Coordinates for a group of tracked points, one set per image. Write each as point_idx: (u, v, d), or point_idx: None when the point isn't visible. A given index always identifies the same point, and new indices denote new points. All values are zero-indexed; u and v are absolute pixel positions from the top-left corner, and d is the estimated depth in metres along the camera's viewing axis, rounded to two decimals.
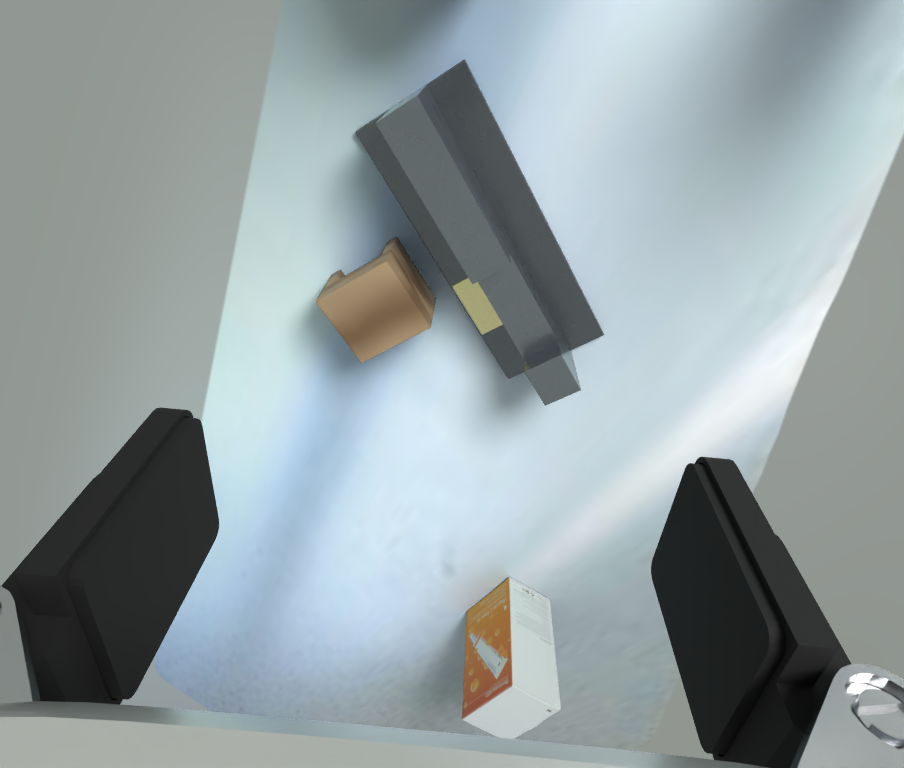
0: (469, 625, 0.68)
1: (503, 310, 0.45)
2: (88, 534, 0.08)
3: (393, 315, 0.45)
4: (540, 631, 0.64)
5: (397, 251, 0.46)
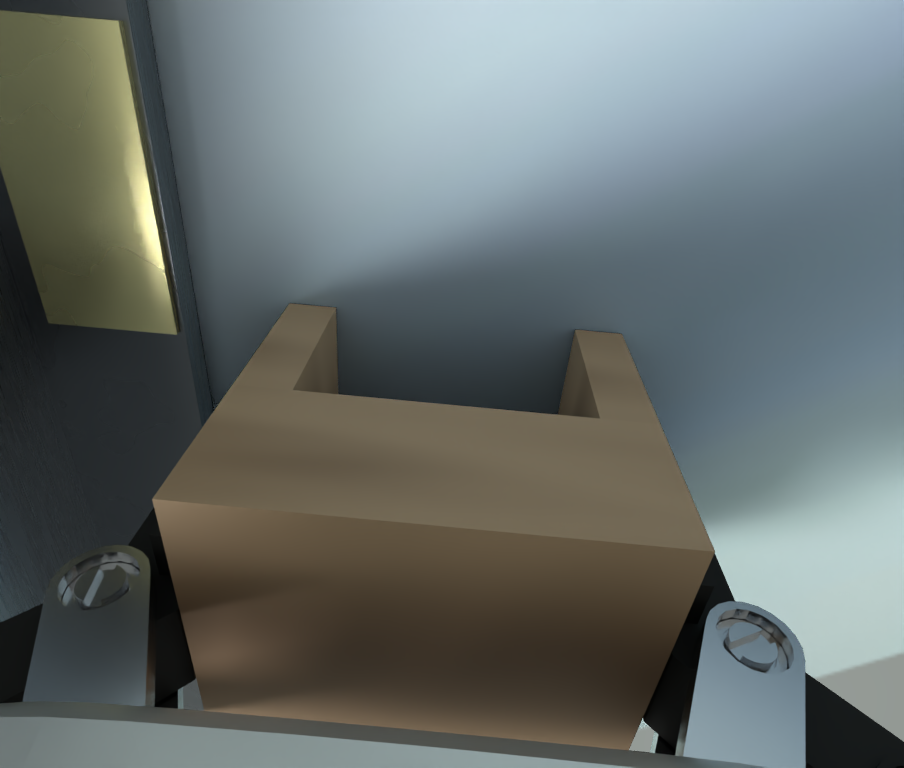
0: None
1: None
2: None
3: (326, 635, 0.08)
4: None
5: None
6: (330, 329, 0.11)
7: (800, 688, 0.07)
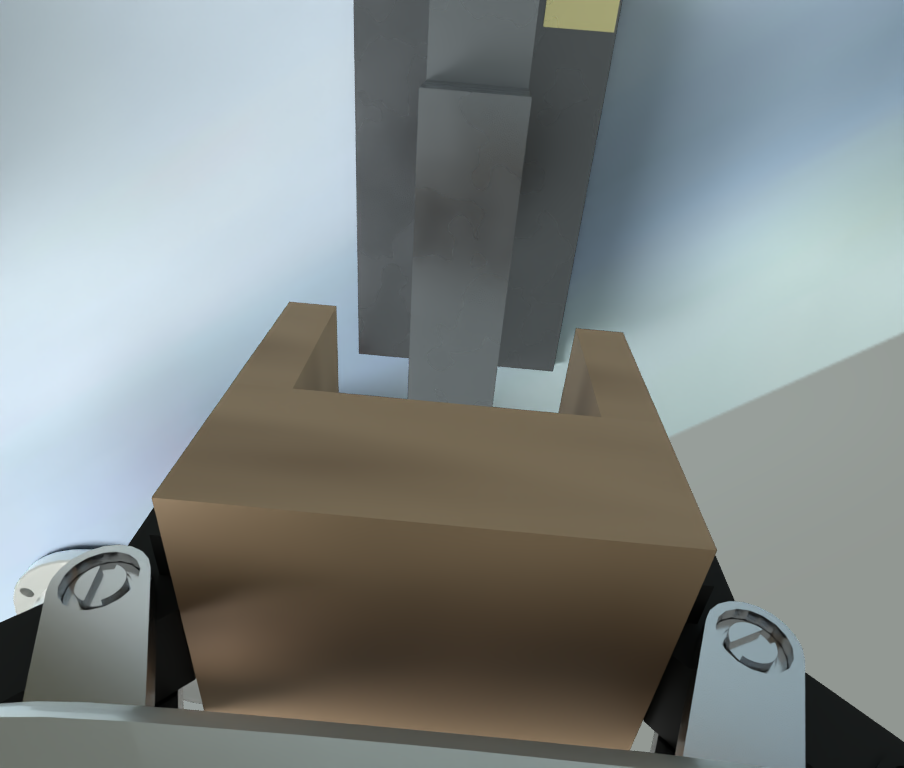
0: None
1: None
2: None
3: (326, 634, 0.08)
4: None
5: None
6: (330, 328, 0.11)
7: (799, 688, 0.07)
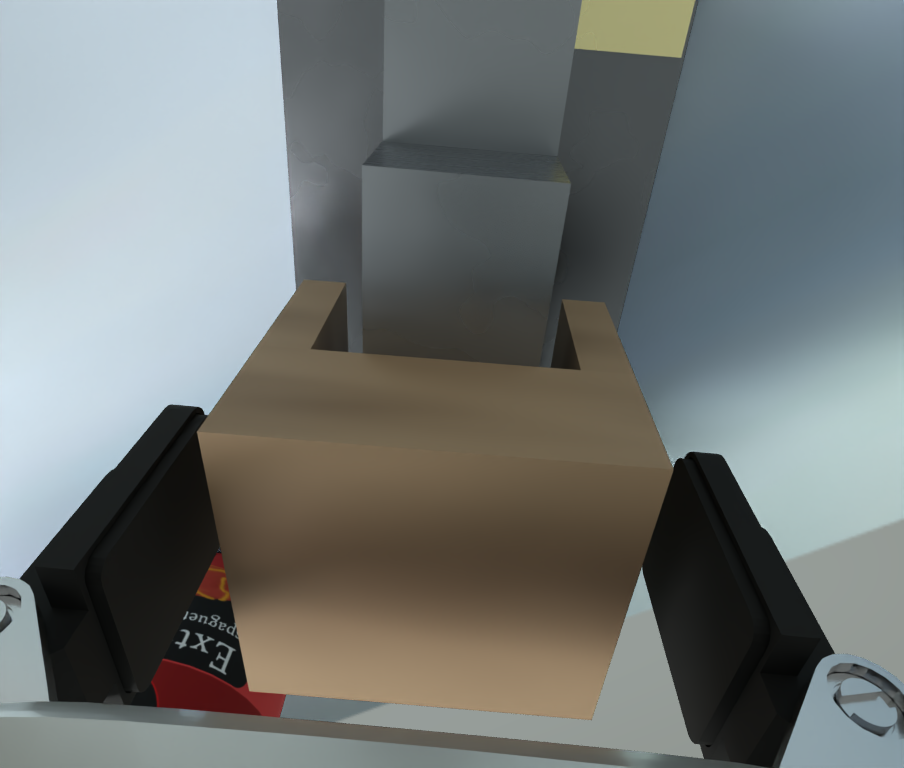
0: None
1: None
2: (105, 528, 0.08)
3: (344, 555, 0.09)
4: None
5: None
6: (341, 301, 0.12)
7: None
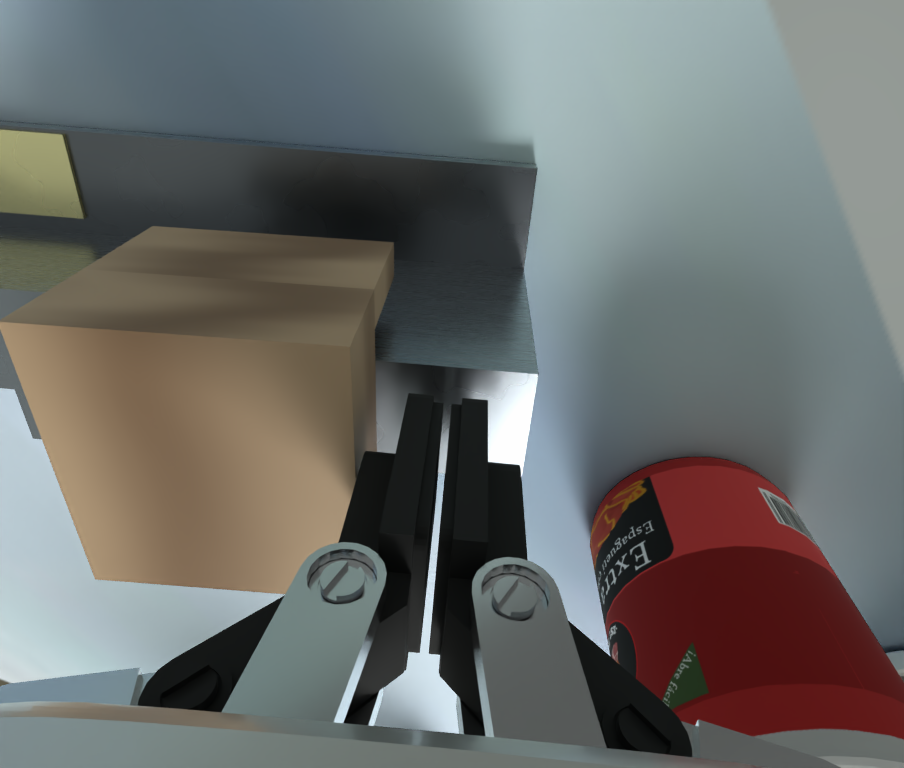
0: None
1: None
2: (418, 500, 0.09)
3: (174, 524, 0.12)
4: None
5: None
6: None
7: (562, 617, 0.08)
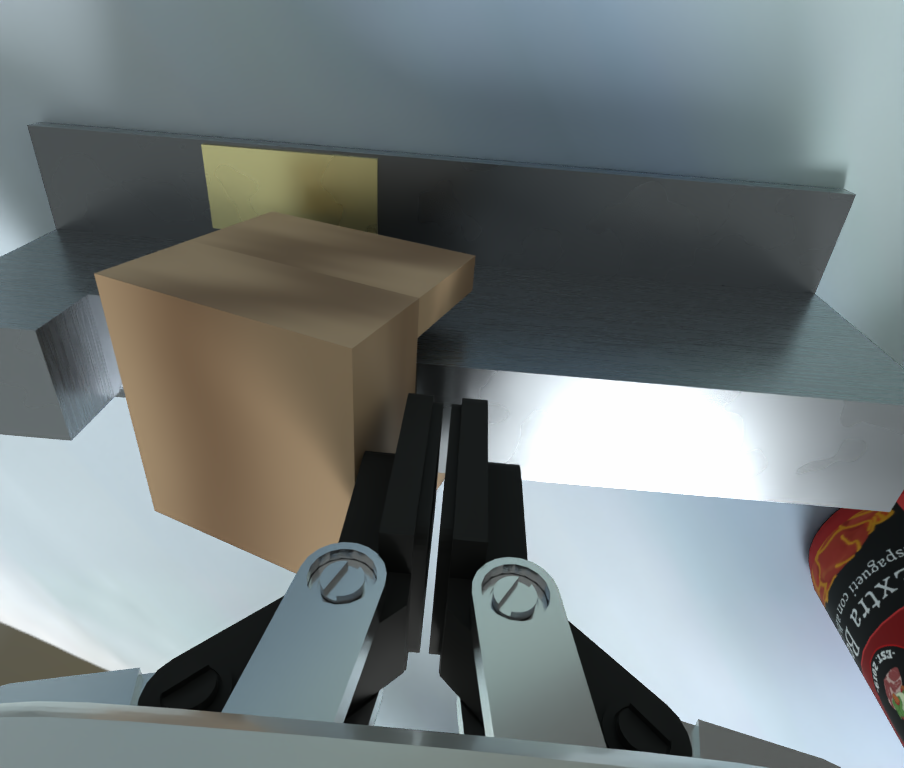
0: None
1: None
2: (418, 500, 0.09)
3: (210, 479, 0.14)
4: None
5: None
6: None
7: (562, 617, 0.08)
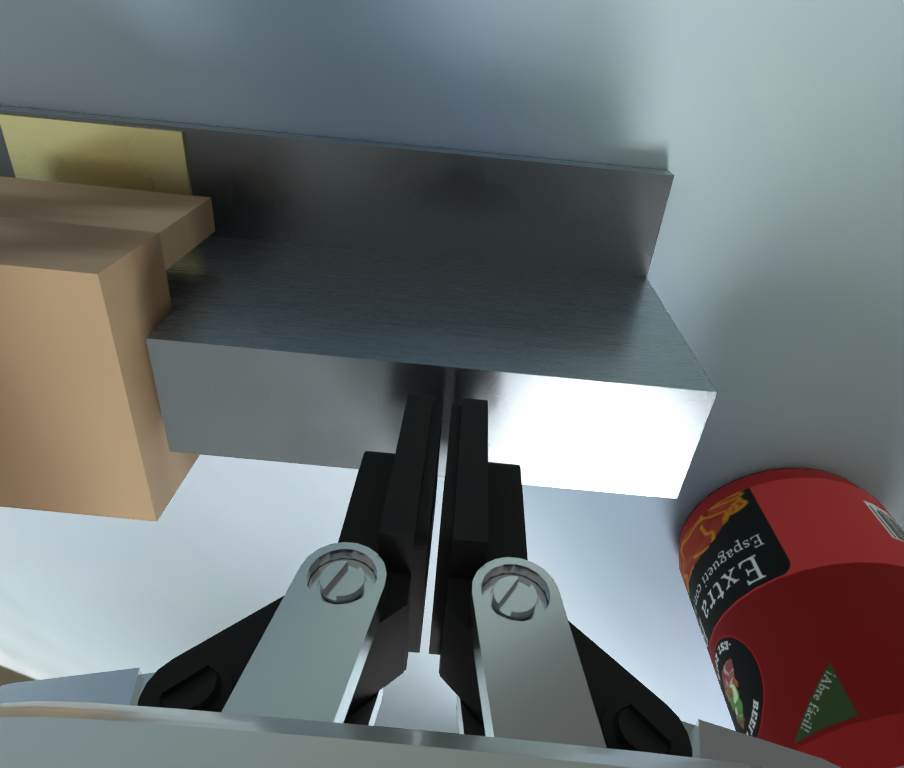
0: None
1: None
2: (418, 500, 0.09)
3: None
4: None
5: None
6: None
7: (562, 617, 0.08)
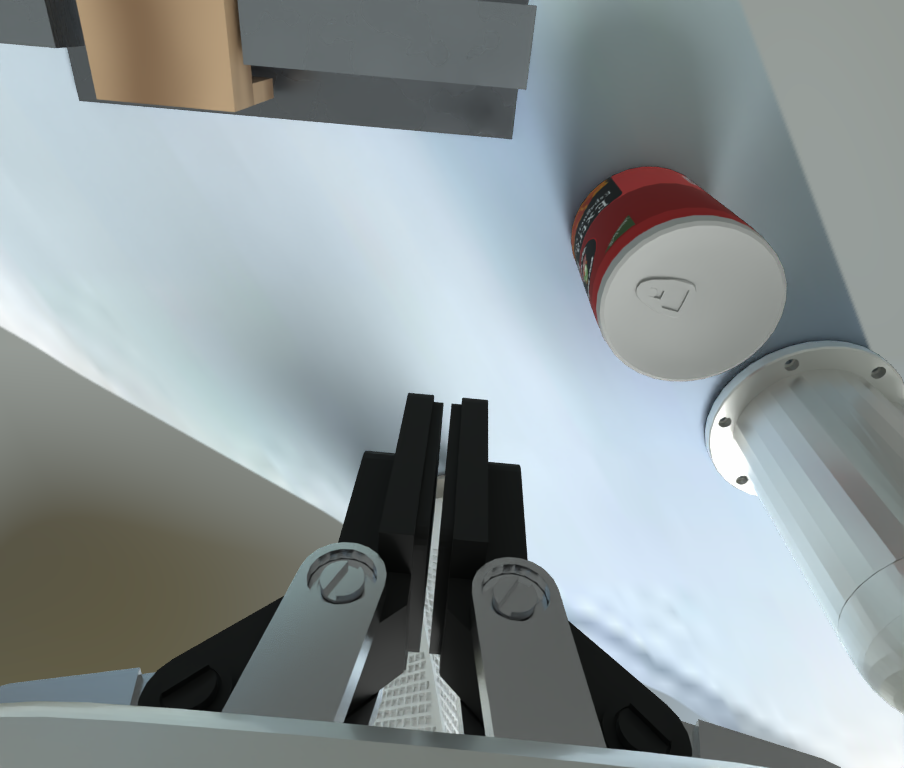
0: None
1: None
2: (418, 500, 0.09)
3: (137, 53, 0.25)
4: None
5: None
6: None
7: (562, 617, 0.08)
